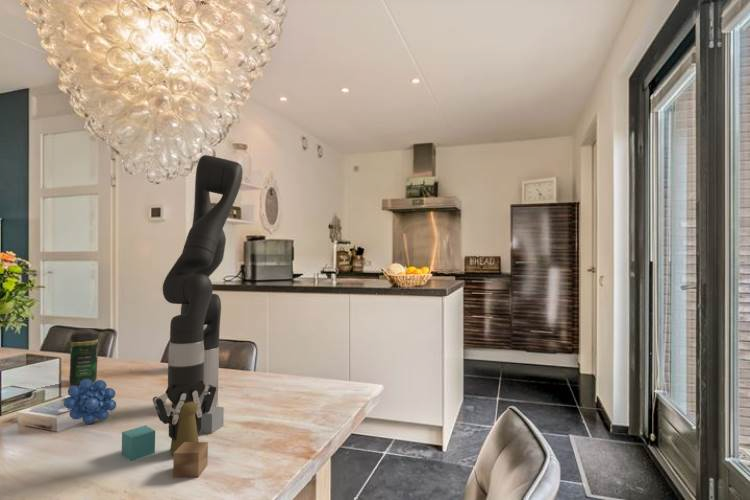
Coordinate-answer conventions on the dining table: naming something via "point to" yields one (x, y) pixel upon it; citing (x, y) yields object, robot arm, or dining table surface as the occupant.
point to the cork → (186, 425)
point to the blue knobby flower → (90, 401)
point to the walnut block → (190, 460)
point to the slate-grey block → (212, 420)
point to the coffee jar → (83, 356)
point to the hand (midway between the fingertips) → (184, 435)
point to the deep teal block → (138, 442)
